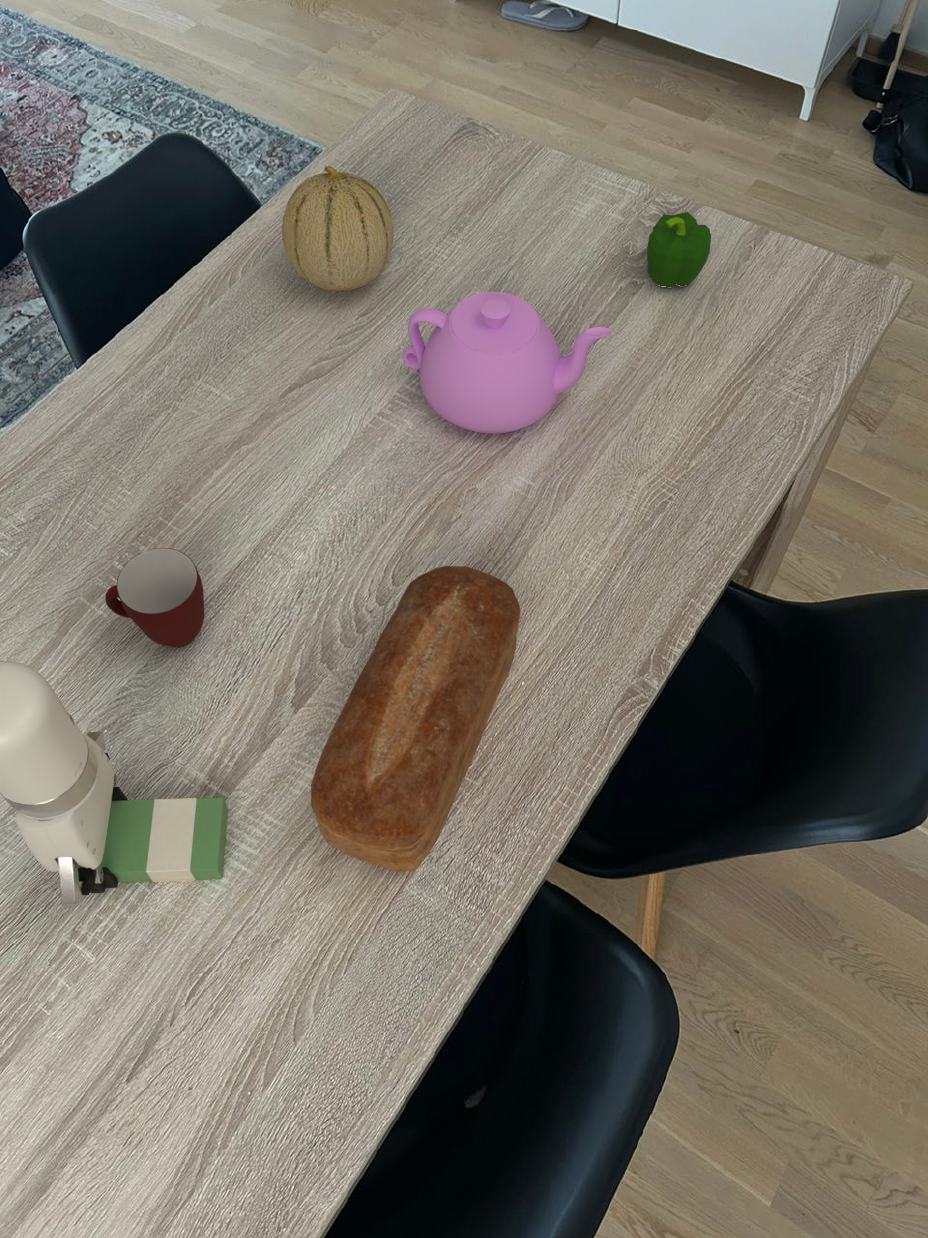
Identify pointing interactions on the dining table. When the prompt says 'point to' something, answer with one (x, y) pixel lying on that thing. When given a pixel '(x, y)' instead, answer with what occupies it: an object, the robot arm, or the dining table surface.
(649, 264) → the bell pepper
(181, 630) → the mug
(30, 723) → the robot arm
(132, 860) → the block
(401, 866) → the bread
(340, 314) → the dining table surface
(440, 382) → the teapot
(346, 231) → the cantaloupe
